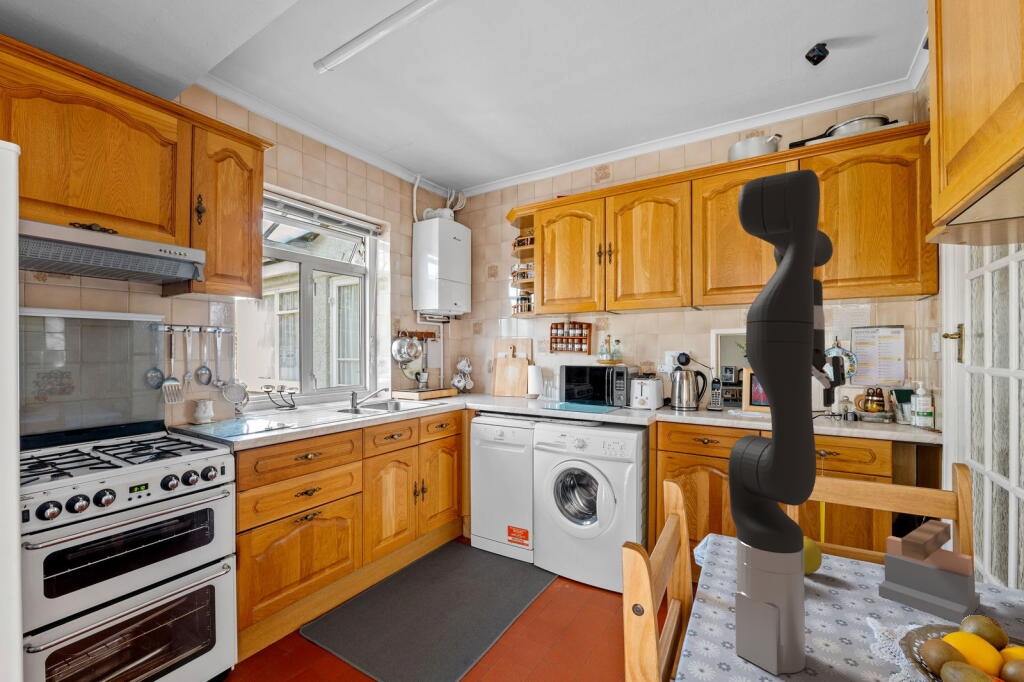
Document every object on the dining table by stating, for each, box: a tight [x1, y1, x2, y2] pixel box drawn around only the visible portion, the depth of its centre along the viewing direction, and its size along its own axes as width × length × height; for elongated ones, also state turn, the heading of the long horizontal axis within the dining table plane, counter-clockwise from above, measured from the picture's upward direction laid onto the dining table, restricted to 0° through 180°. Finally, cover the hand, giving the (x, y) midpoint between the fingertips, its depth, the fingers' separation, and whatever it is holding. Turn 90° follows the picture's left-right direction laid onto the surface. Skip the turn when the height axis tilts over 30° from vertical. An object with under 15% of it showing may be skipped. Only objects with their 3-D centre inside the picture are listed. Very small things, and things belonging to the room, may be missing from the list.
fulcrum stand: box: [878, 535, 981, 625], centre depth 89 cm, size 12×12×10 cm
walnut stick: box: [901, 519, 952, 561], centre depth 89 cm, size 18×3×3 cm, turn 125°
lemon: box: [803, 535, 823, 576], centre depth 99 cm, size 6×6×8 cm
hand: (804, 405), depth 98 cm, fingers open, 8 cm apart
